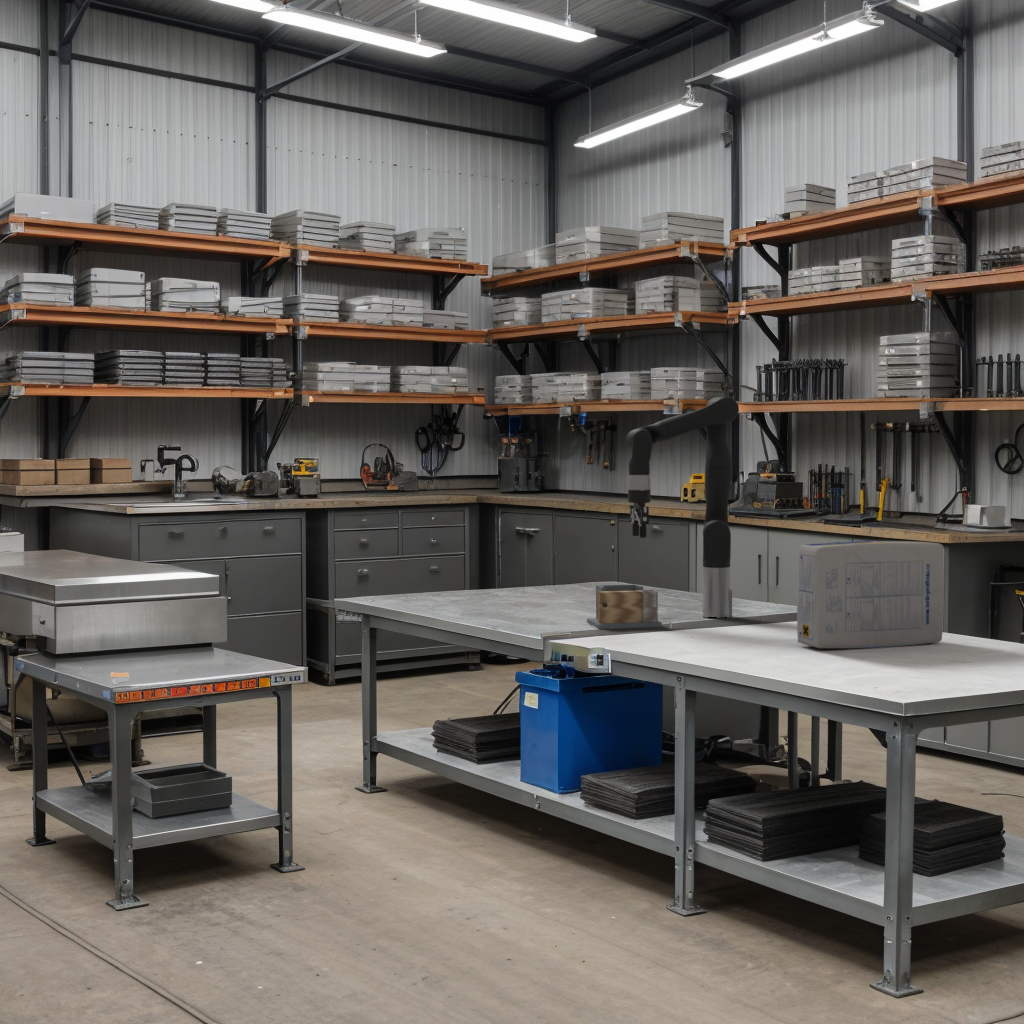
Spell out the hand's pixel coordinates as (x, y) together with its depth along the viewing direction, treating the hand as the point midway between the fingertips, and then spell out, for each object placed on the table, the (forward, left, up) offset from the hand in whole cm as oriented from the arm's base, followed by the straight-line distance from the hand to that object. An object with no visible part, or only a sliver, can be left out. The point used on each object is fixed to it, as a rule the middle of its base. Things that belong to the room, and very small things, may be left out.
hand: (639, 536), depth 408 cm
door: (+9, +15, -27) cm, 32 cm away
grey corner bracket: (+8, +11, -28) cm, 31 cm away
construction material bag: (-49, +68, -28) cm, 89 cm away
